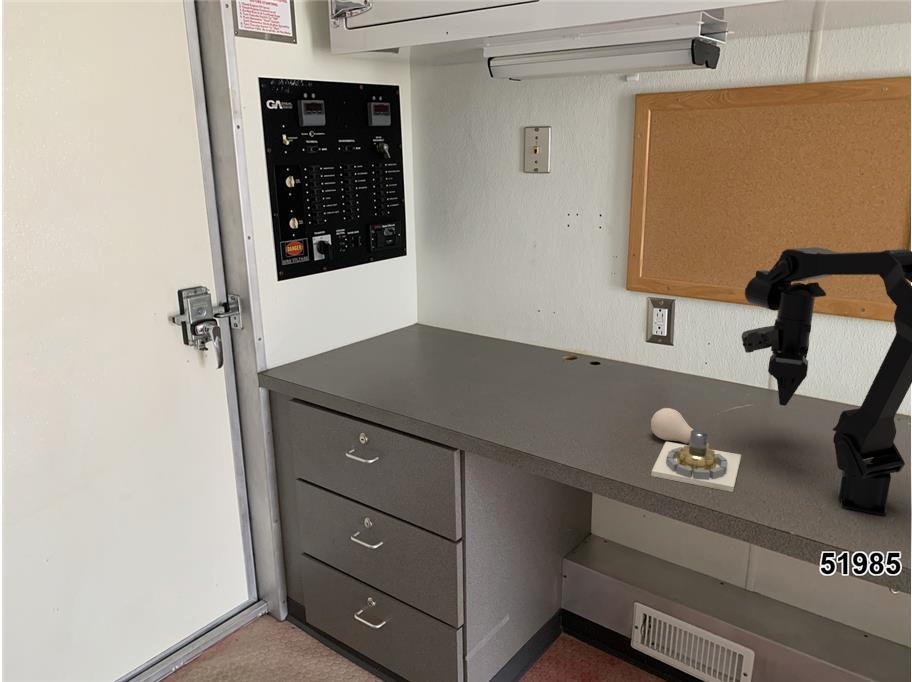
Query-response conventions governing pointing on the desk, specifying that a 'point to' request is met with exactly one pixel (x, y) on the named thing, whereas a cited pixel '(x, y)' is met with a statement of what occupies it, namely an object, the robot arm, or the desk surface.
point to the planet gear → (697, 452)
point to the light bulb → (670, 426)
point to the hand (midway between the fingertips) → (783, 396)
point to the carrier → (713, 478)
